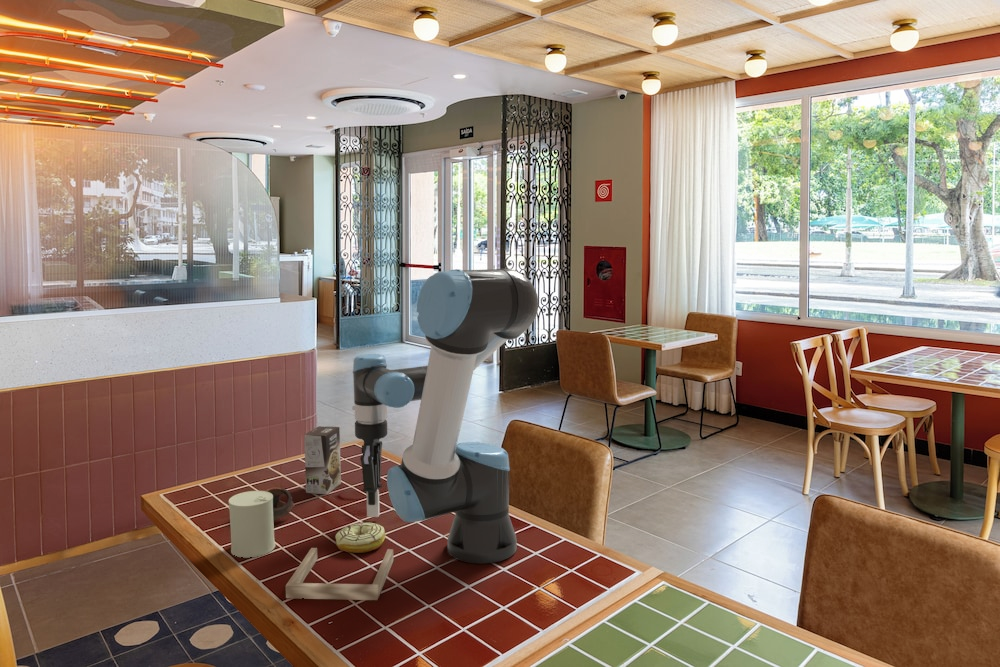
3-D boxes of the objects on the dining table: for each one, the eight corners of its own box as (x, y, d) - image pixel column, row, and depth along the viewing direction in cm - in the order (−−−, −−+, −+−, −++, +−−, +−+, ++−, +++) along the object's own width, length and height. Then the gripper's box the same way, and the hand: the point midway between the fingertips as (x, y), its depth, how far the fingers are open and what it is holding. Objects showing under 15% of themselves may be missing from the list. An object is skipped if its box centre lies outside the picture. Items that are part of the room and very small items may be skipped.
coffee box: (327, 495, 185) (325, 435, 183) (305, 493, 186) (302, 434, 184) (342, 483, 194) (340, 426, 192) (320, 481, 195) (318, 425, 193)
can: (261, 559, 148) (258, 505, 147) (222, 555, 150) (219, 502, 149) (283, 541, 157) (281, 490, 156) (245, 537, 159) (243, 487, 158)
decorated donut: (340, 535, 161) (340, 520, 160) (387, 534, 161) (387, 519, 161) (331, 556, 151) (331, 539, 150) (382, 555, 151) (381, 538, 151)
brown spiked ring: (297, 509, 177) (300, 487, 172) (285, 539, 169) (287, 517, 165) (249, 498, 176) (251, 476, 171) (235, 528, 168) (236, 506, 164)
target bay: (393, 560, 148) (393, 549, 148) (377, 600, 132) (377, 587, 132) (311, 559, 149) (311, 547, 149) (285, 598, 133) (285, 585, 132)
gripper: (361, 412, 172) (364, 505, 175) (348, 427, 159) (351, 526, 162) (392, 413, 172) (393, 505, 175) (381, 427, 159) (383, 527, 162)
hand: (373, 515), depth 169 cm, fingers closed
